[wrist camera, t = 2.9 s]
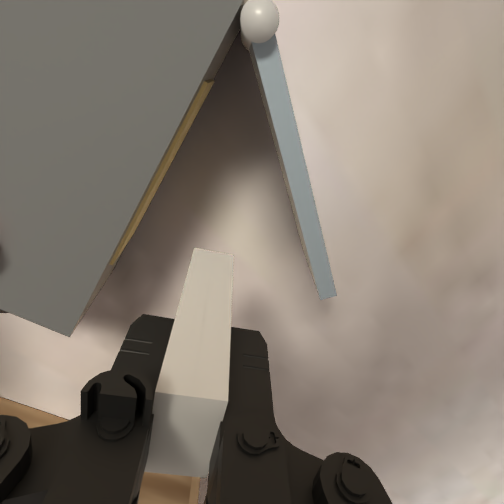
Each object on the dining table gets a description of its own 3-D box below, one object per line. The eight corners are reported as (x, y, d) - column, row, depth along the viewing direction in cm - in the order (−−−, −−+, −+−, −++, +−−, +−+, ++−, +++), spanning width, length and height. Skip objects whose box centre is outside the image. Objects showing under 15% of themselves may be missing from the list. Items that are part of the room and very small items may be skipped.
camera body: (74, -118, 13) (-62, -271, 7) (249, 18, 16) (254, -15, 10) (-27, 225, 20) (-143, 291, 14) (106, 286, 22) (56, 367, 16)
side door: (237, 26, 16) (235, 3, 10) (262, 17, 16) (273, -11, 10) (299, 248, 21) (318, 307, 16) (318, 242, 21) (343, 300, 16)
